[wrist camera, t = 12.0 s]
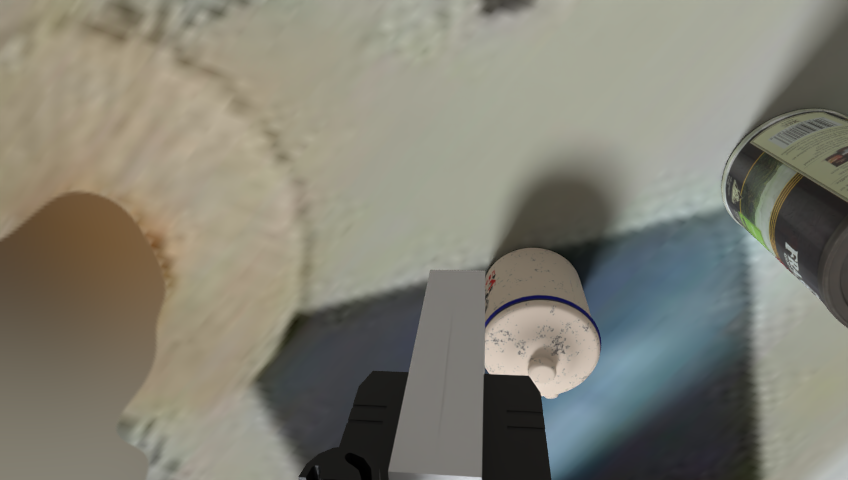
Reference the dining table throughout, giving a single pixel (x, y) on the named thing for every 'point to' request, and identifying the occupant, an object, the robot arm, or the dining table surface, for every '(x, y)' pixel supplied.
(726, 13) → the dining table surface
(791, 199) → the coffee can
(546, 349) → the teacup with lid
